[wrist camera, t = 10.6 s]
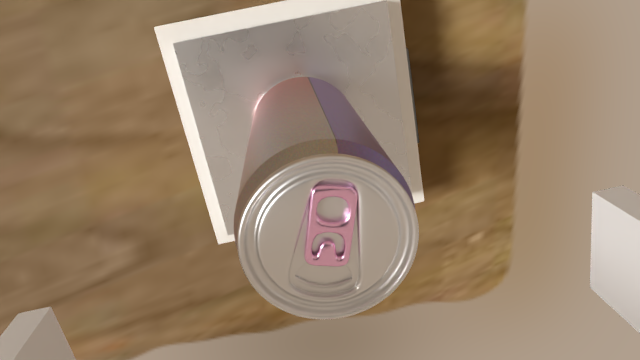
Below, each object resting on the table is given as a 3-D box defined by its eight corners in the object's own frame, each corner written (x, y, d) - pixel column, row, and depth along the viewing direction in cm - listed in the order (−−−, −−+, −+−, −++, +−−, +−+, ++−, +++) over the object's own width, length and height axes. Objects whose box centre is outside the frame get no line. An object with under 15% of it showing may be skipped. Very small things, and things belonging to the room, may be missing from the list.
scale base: (165, 24, 30) (153, 27, 27) (389, -21, 30) (400, -23, 28) (222, 224, 35) (218, 244, 32) (415, 184, 35) (427, 200, 32)
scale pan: (176, 41, 28) (172, 43, 27) (383, 0, 28) (386, 0, 27) (229, 228, 32) (227, 235, 31) (408, 191, 32) (412, 197, 31)
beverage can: (359, 79, 28) (442, 157, 14) (346, 176, 30) (408, 328, 16) (255, 70, 27) (235, 142, 13) (250, 169, 29) (226, 322, 15)
